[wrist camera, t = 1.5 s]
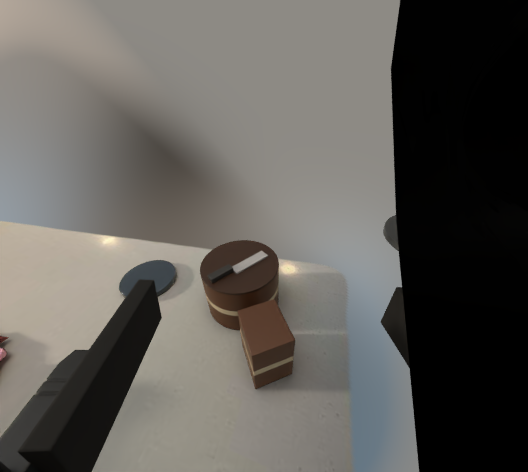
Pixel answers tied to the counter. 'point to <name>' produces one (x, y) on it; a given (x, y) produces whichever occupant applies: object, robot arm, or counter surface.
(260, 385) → the cake slice
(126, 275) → the plate
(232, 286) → the cake
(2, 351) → the candy landscape model
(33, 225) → the counter surface
